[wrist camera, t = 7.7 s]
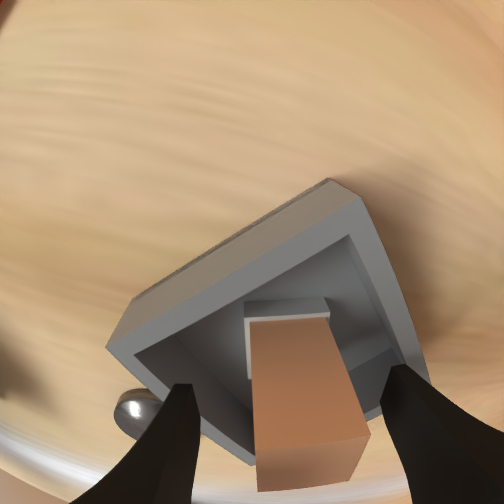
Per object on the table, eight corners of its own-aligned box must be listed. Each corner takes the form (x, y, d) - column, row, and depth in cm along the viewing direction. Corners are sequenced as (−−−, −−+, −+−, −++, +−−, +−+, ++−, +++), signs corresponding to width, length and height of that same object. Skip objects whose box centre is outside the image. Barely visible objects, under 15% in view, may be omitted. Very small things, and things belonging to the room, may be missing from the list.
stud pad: (211, 425, 17) (210, 437, 16) (155, 441, 18) (153, 452, 17) (156, 378, 15) (152, 391, 14) (103, 400, 16) (98, 412, 15)
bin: (403, 341, 15) (431, 385, 12) (249, 417, 17) (250, 466, 13) (327, 177, 12) (360, 196, 8) (132, 299, 13) (105, 347, 10)
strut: (323, 297, 13) (379, 429, 6) (317, 356, 14) (353, 481, 8) (243, 301, 13) (246, 446, 6) (247, 361, 14) (251, 494, 8)
